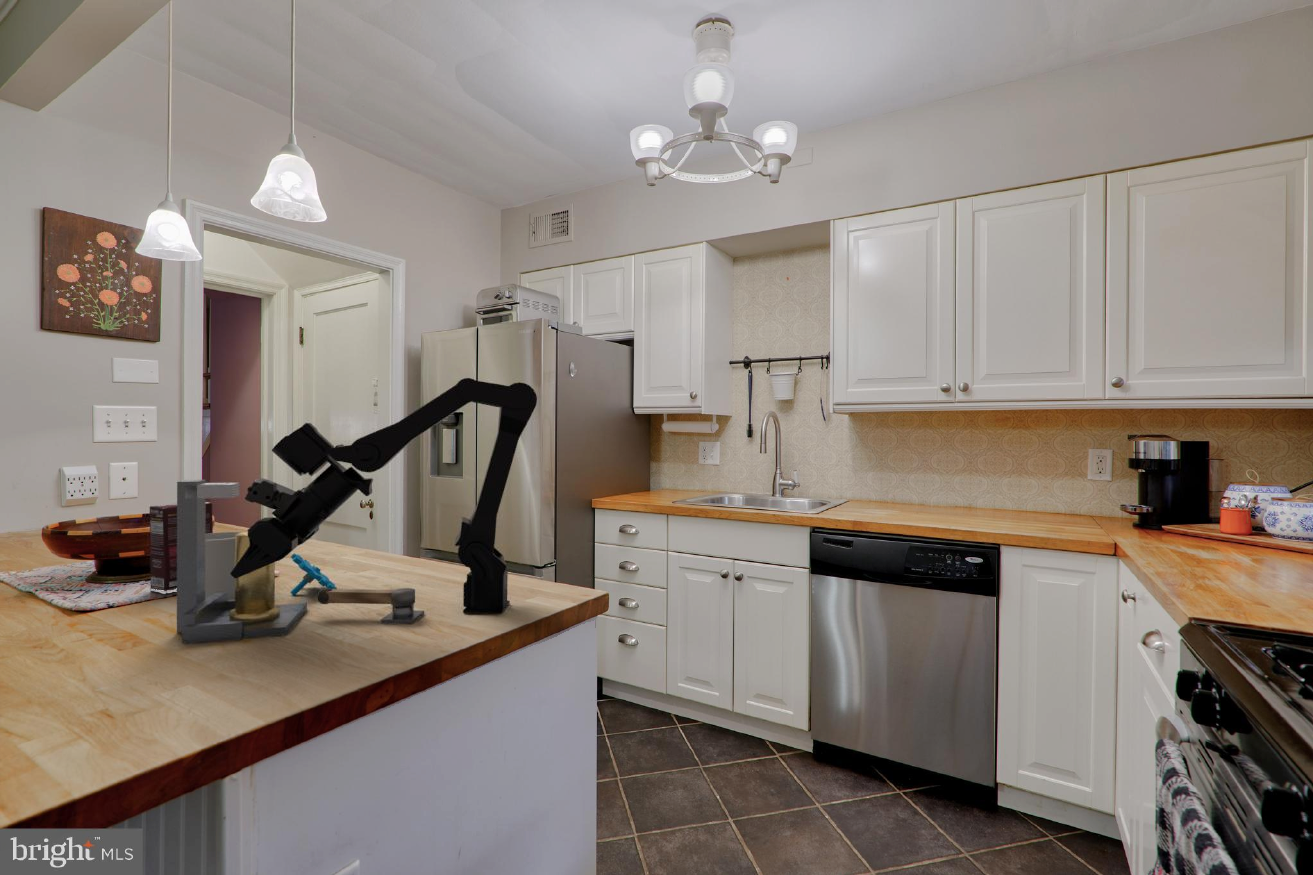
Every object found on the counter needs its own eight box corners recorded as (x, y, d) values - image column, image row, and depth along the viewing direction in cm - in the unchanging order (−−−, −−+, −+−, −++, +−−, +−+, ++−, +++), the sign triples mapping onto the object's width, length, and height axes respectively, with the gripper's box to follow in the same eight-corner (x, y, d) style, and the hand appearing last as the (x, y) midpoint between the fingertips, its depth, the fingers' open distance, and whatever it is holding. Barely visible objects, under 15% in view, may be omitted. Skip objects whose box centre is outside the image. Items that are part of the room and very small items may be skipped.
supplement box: (198, 581, 122) (198, 500, 121) (214, 584, 120) (214, 502, 119) (147, 592, 114) (148, 505, 113) (163, 595, 112) (164, 507, 111)
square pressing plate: (424, 614, 103) (424, 601, 103) (412, 623, 98) (412, 609, 98) (394, 613, 103) (394, 600, 103) (380, 623, 98) (380, 609, 98)
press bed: (307, 609, 105) (308, 476, 105) (284, 636, 92) (285, 484, 91) (200, 615, 100) (200, 476, 100) (159, 645, 87) (160, 485, 87)
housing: (289, 613, 99) (290, 531, 98) (251, 625, 92) (251, 538, 92) (258, 608, 101) (258, 528, 100) (218, 620, 94) (218, 535, 94)
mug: (191, 606, 106) (191, 541, 105) (188, 595, 112) (189, 534, 112) (273, 595, 113) (273, 535, 113) (266, 585, 120) (267, 528, 120)
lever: (418, 602, 102) (418, 586, 102) (409, 608, 99) (410, 592, 99) (323, 600, 102) (324, 584, 102) (311, 606, 99) (312, 590, 99)
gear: (339, 588, 112) (294, 551, 110) (312, 615, 110) (266, 578, 107) (340, 582, 122) (300, 548, 120) (316, 607, 120) (274, 572, 117)
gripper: (298, 457, 106) (223, 524, 103) (264, 464, 88) (172, 545, 85) (348, 502, 109) (276, 568, 105) (326, 518, 91) (238, 598, 88)
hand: (243, 569), depth 96 cm, fingers open, 9 cm apart
